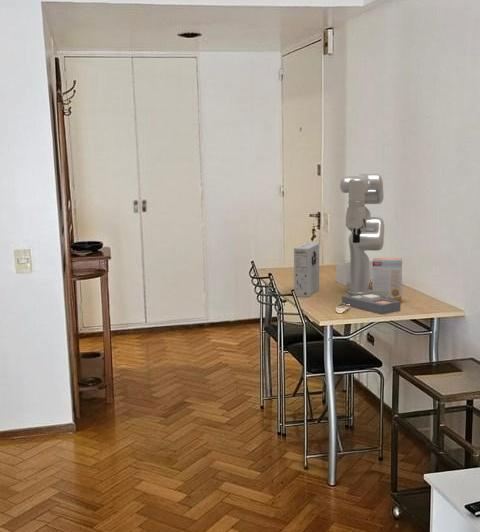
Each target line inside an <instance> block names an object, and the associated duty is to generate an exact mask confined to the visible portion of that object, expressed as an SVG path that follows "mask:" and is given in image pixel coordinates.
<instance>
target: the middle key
mask: <svg viewBox="0 0 480 532" xmlns="http://www.w3.org/2000/svg"><path fill="white" fill-rule="evenodd" d="M362 299H364V300H368V301H374V300H379V299H380V296H377V295H373V294H372V293H370V294H367V295H363V296H362Z"/></svg>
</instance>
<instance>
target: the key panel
mask: <svg viewBox="0 0 480 532" xmlns="http://www.w3.org/2000/svg"><path fill="white" fill-rule="evenodd" d="M357 295H361V296H363V295H368V294H363V293H358V294H347V295H342V296H341V304H342V303H345V304H350V306H351V308H355V309H359V310H362V311H367V312H372V313H376V314H380V315H385V314H390V313H395V312H398V311H399V312H400V311H401V306H402V304H401V303H402V301H401V302H399V301H394V300H390V299H385V298H381V297H380V299H379V300H374V301H368V300H364V299H362V298H355V297H351V296H357ZM378 301H387V302H392V303H386V304H381V303H377V302H378ZM350 306H349V307H350Z"/></svg>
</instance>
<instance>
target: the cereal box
mask: <svg viewBox="0 0 480 532" xmlns="http://www.w3.org/2000/svg"><path fill="white" fill-rule="evenodd" d="M293 271H294V272H293V276H294V277H293V281H294V283H293V285H294V288H293V291H295V293H296V295H297V296H298V297H297V298H299V297H300V298H309V297H311V296H312V295H314V294H315V293H316V292H317V291H319V290H320V243H319V242H305V243H302V244H300V245H298V246H295V247H294V248H293Z"/></svg>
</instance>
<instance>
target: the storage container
mask: <svg viewBox="0 0 480 532" xmlns="http://www.w3.org/2000/svg"><path fill="white" fill-rule="evenodd" d="M335 272H336V276H335V277H336V282H338V283H337V284H339V283H340V284H339V285H342V284H343V286H345V285H346V284H348V283H349V282H350V262H349V261H347V262H337V263H336V271H335ZM372 272H373V259H372V260H369V283H370V284H371V280H372V279H371V278H372ZM336 282H335V283H336Z"/></svg>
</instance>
